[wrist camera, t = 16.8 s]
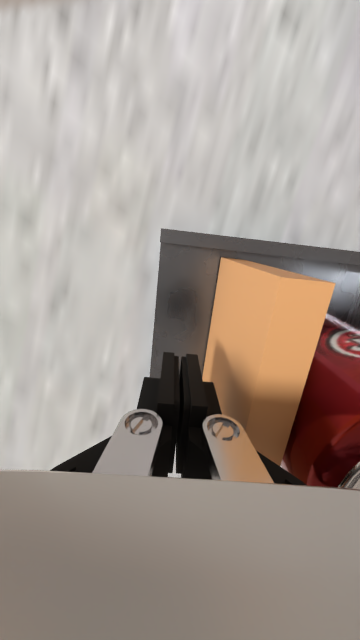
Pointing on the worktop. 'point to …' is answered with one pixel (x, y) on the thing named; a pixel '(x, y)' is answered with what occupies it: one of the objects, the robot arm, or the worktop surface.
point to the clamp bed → (202, 274)
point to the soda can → (329, 412)
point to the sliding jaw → (263, 347)
